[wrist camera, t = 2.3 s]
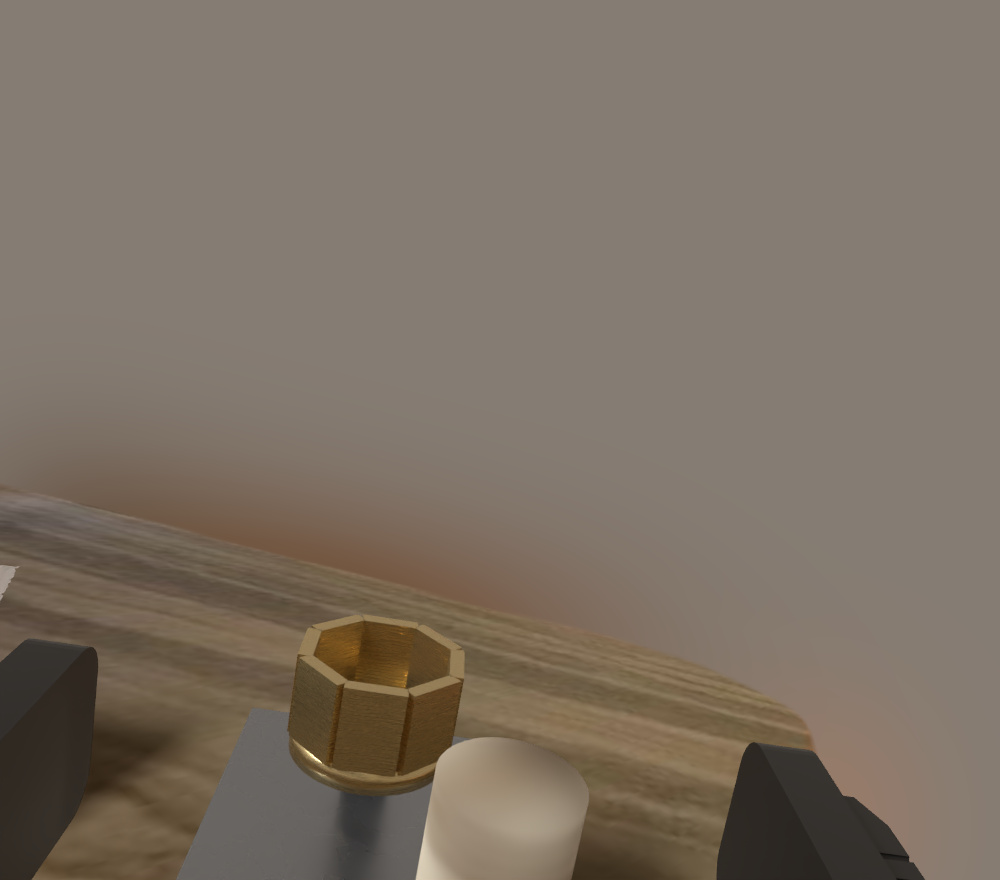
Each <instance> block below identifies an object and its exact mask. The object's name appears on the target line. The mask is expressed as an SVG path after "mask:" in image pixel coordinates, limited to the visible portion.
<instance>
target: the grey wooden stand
mask: <svg viewBox="0 0 1000 880" xmlns="http://www.w3.org/2000/svg"><path fill="white" fill-rule="evenodd" d="M18 567H19V566H18ZM18 567H13V566H4V565H0V599H1V598H2V597H3V596H2V593H4V592H5V589H6V588H7V587H9V586H8V583H11V580H10V579H11V578H13V577H14V572H15V571H16V570H15V568H18Z"/></svg>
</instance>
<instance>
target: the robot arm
mask: <svg viewBox="0 0 1000 880" xmlns="http://www.w3.org/2000/svg"><path fill="white" fill-rule="evenodd" d="M97 674H98V657H97V653H96V650H95V649H94V648H93V647H88V646H81V645H74V644H67V643H60V642H53V641H46V640H38V639H27V640H25V641H24V642H22V643H21V644H20V645H19V646H18V647H17V648H16V649H15V650H13V651H12V652H11V653H10V654H9V655H8V656H7V657H6V658H5V659H4V660H2V661H1V662H0V880H31V879H32V878H33V876H34V875H35V873H36V872H37V871H38V869H39V868H40V866H41V865H42V863H43V862H44V860H45V859H46V857H47V856H48V855H49V853H50V852H51V850H52V849H53V847H54V846H55V844H56V843H57V841H58V840H59V839H60V837H61V836H62V834H63V833H64V831H65V830H66V828H67V827H68V825H69V824H70V822H71V821H72V819H73V818H74V816H75V814H76V812H77V809H78V807H79V805H80V802H81V800H82V797H83V794H84V791H85V787H86V784H87V779H88V775H89V769H90V760H91V748H92V736H93V723H94V711H95V699H96V687H97ZM717 880H925V879H924V878H923V876H922V875H921V873H920V872H919V870H918V869H917V867H916V866H915V864H914V863H911V862H909V856H908V854H907V853H906V851H905V850H904V848H903V847H902V845H901V844H900V842H899V841H898V840H897V838H896V837H895V835H894V834H893V832H892V831H891V829H890V828H889V826H888V825H887V824H885V823H884V822H883V821H882V820H880V819H879V818H878V817H877V816H876V815H874V814H873V813H872V812H871V811H870V810H868V809H867V808H866V807H865V806H864V805H862V804H861V803H860V802H859V801H857V800H856V799H855V798H854V797H847V796H843V795H842V794H841V792H840V791H839V789H838V787H837V786H836V784H835V783H834V781H833V780H832V778H831V776H830V775H829V773H828V772H827V770H826V769H825V767H824V766H823V764H822V762H821V761H820V759H819V758H818V756H817V755H816V754H815V753H814V752H813V751H810V750H804V749H797V748H790V747H783V746H776V745H769V744H762V743H755V742H754V743H751V744H749V745H748V747H747V748H746V750H745V752H744V754H743V757H742V760H741V763H740V768H739V772H738V776H737V780H736V784H735V788H734V792H733V796H732V800H731V804H730V808H729V812H728V816H727V821H726V825H725V829H724V833H723V837H722V841H721V845H720V849H719V854H718V861H717Z"/></svg>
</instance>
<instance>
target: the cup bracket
mask: <svg viewBox="0 0 1000 880" xmlns="http://www.w3.org/2000/svg"><path fill="white" fill-rule="evenodd" d="M463 681H464V651H462V648H461V647H460V646H458V645H457V644H455V643H453V642H452V641H450V640H448V639H447V638H445V637H443V636H442V635H440V634H438V633H437V632H435V631H433V630H432V629H430V628H429V627H427V626H425V625H421V626H418V623H416V622H410V621H403V620H396V619H390V618H383V617H376V616H370V615H363V618H362V617H360V616H359V615H354V616H350V617H345V618H341V619H337V620H333V621H328V622H324V623H320V624H316V625H312V628H308V629H307V632H306V635H305V637H304V640H303V642H302V645H301V647H300V650H299V652H298V656H297V663H296V670H295V678H294V685H293V692H292V699H291V707H290V713H287V712H280V711H273V710H266V709H259V708H252V710H251V712H250V714H249V717H248V719H247V721H246V723H245V726H244V728H243V730H242V732H241V735H240V737H239V739H238V741H237V744H236V746H235V748H234V750H233V753H232V755H231V757H230V759H229V762H228V764H227V766H226V768H225V771H224V773H223V775H222V777H221V780H220V782H219V784H218V786H217V789H216V791H215V793H214V795H213V798H212V800H211V802H210V804H209V807H208V809H207V811H206V813H205V816H204V818H203V820H202V822H201V825H200V827H199V829H198V831H197V834H196V836H195V838H194V840H193V843H192V845H191V847H190V849H189V852H188V854H187V856H186V858H185V861H184V863H183V865H182V868H181V870H180V872H179V874H178V877H177V879H176V880H416V875H417V869H418V864H419V858H420V853H421V847H422V842H423V836H424V830H425V825H426V819H427V814H428V808H429V803H430V797H431V791H432V786H433V780H434V775H435V769H436V764H437V762H438V759H439V758H440V756H441V755H442V754H443V753H444V752H445V751H446V750H447V749H449V748H450V747H452V746H453V745H456V744H458V743H460V742H463V741H466V740H471V739H469V738H462V737H455V736H454V731H455V725H456V720H457V714H458V709H459V703H460V698H461V692H462V687H463Z"/></svg>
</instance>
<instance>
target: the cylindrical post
mask: <svg viewBox="0 0 1000 880" xmlns="http://www.w3.org/2000/svg"><path fill="white" fill-rule="evenodd" d="M588 802H589V791H588V788H587V785H586V783H585V781H584V779H583V778H582V776H581V775H580V773H579V772H578V771H577V770H576V769H575V768H574V767H573V766H572V765H571V764H569V763H568V762H567V761H565V760H564V759H563V758H561V757H560V756H558V755H556V754H555V753H553V752H551V751H549V750H547V749H544V748H542V747H539V746H537V745H534V744H531V743H528V742H524V741H520V740H514V739H508V738H497V737H487V738H476V739H471V740H466V741H463V742H460V743H458V744H456V745H453V746H452V747H450V748H449V749H447V750H446V751H445V752H444V753H443V754H442V755H441V756H440V758H439V759H438V762H437V764H436V769H435V775H434V780H433V786H432V791H431V797H430V803H429V808H428V814H427V819H426V825H425V830H424V836H423V842H422V847H421V853H420V858H419V864H418V869H417V875H416V880H571V879H572V874H573V870H574V865H575V861H576V856H577V852H578V847H579V843H580V838H581V834H582V829H583V825H584V820H585V816H586V811H587V807H588Z"/></svg>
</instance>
